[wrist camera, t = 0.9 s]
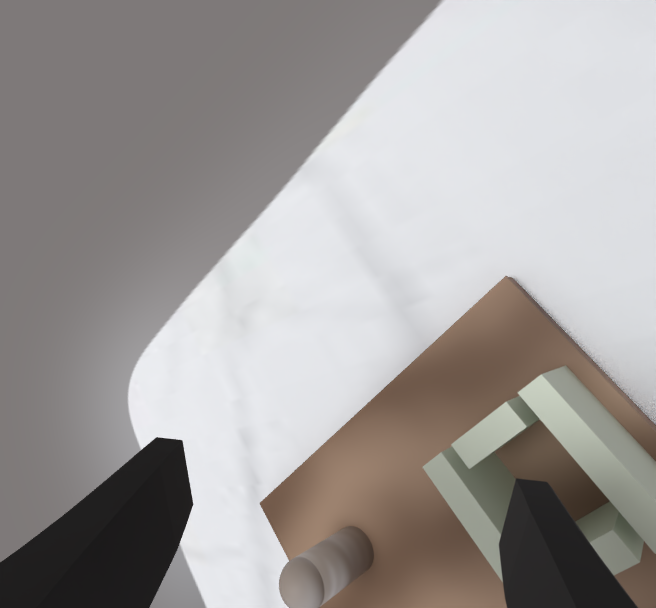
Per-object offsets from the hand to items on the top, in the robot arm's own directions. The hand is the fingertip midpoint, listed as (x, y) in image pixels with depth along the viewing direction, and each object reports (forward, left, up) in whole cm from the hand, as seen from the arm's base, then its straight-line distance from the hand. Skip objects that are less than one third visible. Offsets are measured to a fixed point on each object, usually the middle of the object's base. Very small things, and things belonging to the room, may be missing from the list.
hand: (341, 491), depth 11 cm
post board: (-3, +6, -13) cm, 14 cm away
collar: (-3, 0, -12) cm, 12 cm away
